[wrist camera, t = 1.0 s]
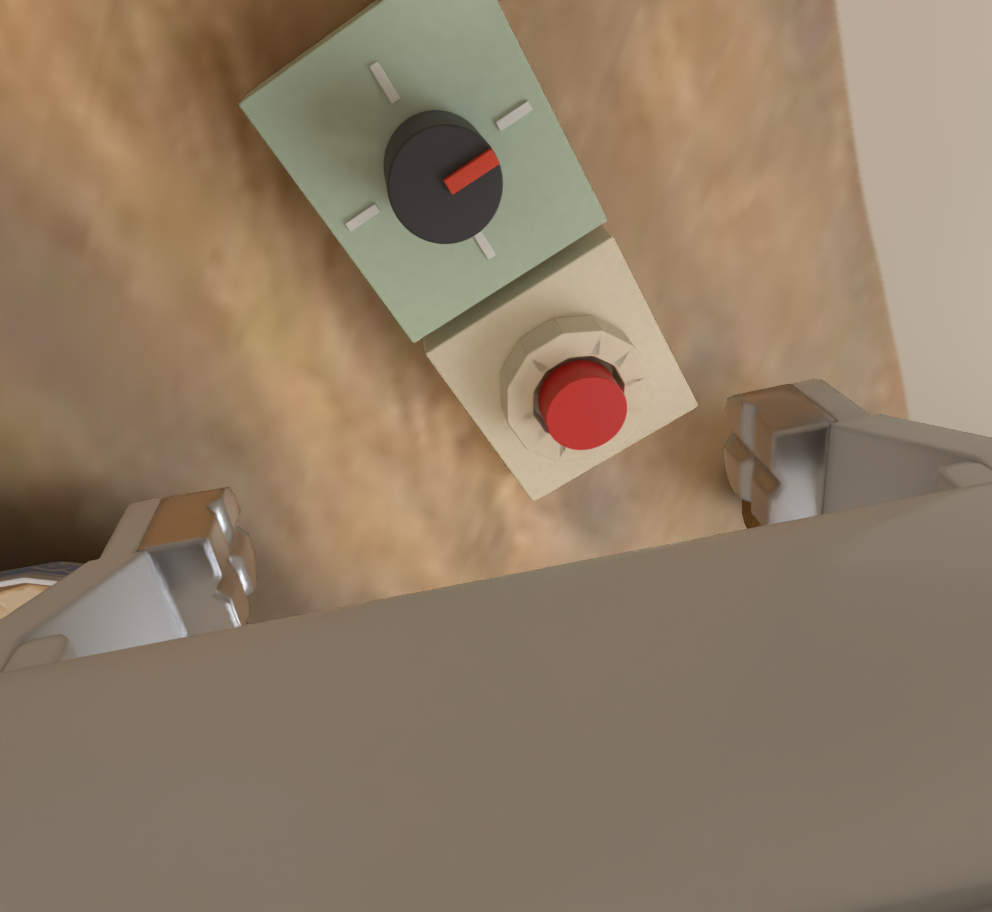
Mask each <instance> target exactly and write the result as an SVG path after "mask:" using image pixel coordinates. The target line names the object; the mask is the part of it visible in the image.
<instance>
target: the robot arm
mask: <svg viewBox="0 0 992 912" xmlns="http://www.w3.org/2000/svg"><path fill="white" fill-rule="evenodd" d="M725 423H726V424H727V425H728V427H729V428H730V429H731V430H732V431H733V434H732V435H731V437H730V438H729V440H728V441H727V442H726V444H725V445H724V464H725V469H726V473H727V477H728V481H729V483H730V485H731V487H732V489H733V491H734V492H735V493H736V494H737V496H738V497H739V498H740V499H743V500H746V501H749V502H751V513H752V514H753V516H754V517H755V518H756V519H757V520H758V522H759V523H760V524H761V525H762V526H760V527H755V528H750V529H744V530H739V531H734V532H729V533H724V534H718V535H713V536H708V537H703V538H698V539H692V540H687V541H682V542H677V543H672V544H666V545H661V546H656V547H651V548H646V549H640V550H635V551H630V552H625V553H620V554H614V555H609V556H604V557H599V558H593V559H588V560H583V561H578V562H573V563H567V564H562V565H557V566H552V567H547V568H541V569H536V570H531V571H526V572H521V573H515V574H510V575H505V576H500V577H495V578H489V579H484V580H479V581H474V582H468V583H463V584H458V585H453V586H448V587H442V588H437V589H432V590H427V591H422V592H416V593H411V594H406V595H401V596H396V597H390V598H385V599H380V600H375V601H369V602H364V603H359V604H354V605H349V606H343V607H338V608H333V609H328V610H323V611H317V612H312V613H307V614H302V615H297V616H291V617H286V618H281V619H276V620H270V621H265V622H260V623H255V624H250V625H247V621H248V617H249V612H250V606H249V603H248V600H247V597H248V596H249V595H250V594H251V593H252V592H253V591H254V590H255V584H256V579H257V575H256V559H255V555H254V550H253V546H252V543H251V540H250V537H249V534H248V533H246V532H245V531H244V530H242V529H241V528H239V527H238V526H237V522H238V518H239V515H240V508H239V505H238V503H237V500H236V497H235V495H234V493H233V492H232V490H231V489H230V488H229V487H225V488H219V489H212V490H206V491H200V492H194V493H188V494H182V495H176V496H170V497H165V498H164V497H159V498H155V499H150V500H146V501H141V502H136V503H132V504H129V505H128V507H127V509H126V510H125V512H124V514H123V516H122V518H121V520H120V521H119V523H118V525H117V527H116V529H115V531H114V532H113V534H112V536H111V538H110V540H109V542H108V544H107V545H106V547H105V549H104V551H103V553H102V555H101V556H100V558H99V559H96V560H91V561H88V562H87V563H85V564H84V565H82V566H81V567H79V568H78V569H76V570H74V571H73V572H71V573H70V574H68V575H67V576H65V577H64V578H62V579H61V580H59V581H58V582H56V583H55V584H53V585H52V586H50V587H49V588H47V589H46V590H44V591H43V592H41V593H40V594H38V595H37V596H35V597H34V598H32V599H31V600H29V601H28V602H26V603H25V604H23V605H22V606H20V607H19V608H17V609H16V610H14V611H12V612H11V613H9V614H8V615H6V616H5V617H3V618H2V619H0V912H992V438H991V437H986V436H981V435H977V434H972V433H967V432H962V431H957V430H953V429H948V428H943V427H939V426H934V425H929V424H924V423H920V422H915V421H910V420H905V419H901V418H896V417H891V416H887V415H882V414H880V415H874V416H871V415H870V414H868V413H867V412H866V411H864V410H863V409H862V408H860V407H859V406H858V405H856V404H855V403H853V402H852V401H851V400H849V399H848V398H847V397H845V396H844V395H842V394H841V393H840V392H838V391H837V390H836V389H834V388H833V387H831V386H830V385H829V384H827V383H826V382H825V381H823V380H822V379H811V380H807V381H803V382H798V383H794V384H786V385H781V386H776V387H771V388H766V389H761V390H757V391H752V392H747V393H742V394H737V395H733V396H731V397H729V398H727V402H726V406H725Z"/></svg>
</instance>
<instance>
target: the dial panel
mask: <svg viewBox="0 0 992 912" xmlns="http://www.w3.org/2000/svg"><path fill="white" fill-rule="evenodd" d="M239 107H240V108H241V109H242V111H243V112H244V113H245V115H246V116H247V117H248V119H249V120H250V122H251V123H252V124H253V126H254V127H255V128H256V130H257V131H258V133H259V134H260V135H261V137H262V138H263V139H264V141H265V142H266V143H267V145H268V146H269V148H270V149H271V150H272V152H273V153H274V154H275V156H276V157H277V158H278V160H279V161H280V163H281V164H282V165H283V167H284V168H285V169H286V171H287V172H288V173H289V175H290V176H291V178H292V179H293V180H294V182H295V183H296V184H297V186H298V187H299V188H300V190H301V191H302V193H303V194H304V195H305V197H306V198H307V199H308V201H309V202H310V203H311V205H312V206H313V208H314V209H315V210H316V212H317V213H318V214H319V216H320V217H321V218H322V220H323V221H324V223H325V224H326V225H327V227H328V228H329V229H330V231H331V232H332V233H333V235H334V236H335V238H336V239H337V240H338V242H339V243H340V244H341V246H342V247H343V248H344V250H345V251H346V253H347V254H348V255H349V257H350V258H351V259H352V261H353V262H354V264H355V265H356V266H357V268H358V269H359V270H360V272H361V273H362V274H363V276H364V277H365V279H366V280H367V281H368V283H369V284H370V285H371V287H372V288H373V289H374V291H375V292H376V294H377V295H378V296H379V298H380V299H381V300H382V302H383V303H384V304H385V306H386V307H387V309H388V310H389V311H390V313H391V314H392V315H393V317H394V318H395V319H396V321H397V322H398V324H399V325H400V326H401V328H402V329H403V330H404V332H405V333H406V334H407V336H408V337H409V339H410V340H411V341H412V343H415V342H417V341H418V340H420V339H421V338H423V337H425V336H426V335H428V334H429V333H431V332H432V331H434V330H436V329H437V328H439V327H440V326H442V325H443V324H445V323H447V322H448V321H450V320H451V319H453V318H455V317H456V316H458V315H459V314H461V313H462V312H464V311H466V310H467V309H469V308H470V307H472V306H473V305H475V304H477V303H478V302H480V301H481V300H483V299H485V298H486V297H488V296H489V295H491V294H492V293H494V292H496V291H497V290H499V289H500V288H502V287H503V286H505V285H507V284H508V283H510V282H511V281H513V280H515V279H516V278H518V277H519V276H521V275H522V274H524V273H526V272H527V271H529V270H530V269H532V268H533V267H535V266H537V265H538V264H540V263H541V262H543V261H545V260H546V259H548V258H549V257H551V256H552V255H554V254H556V253H557V252H559V251H560V250H562V249H563V248H565V247H567V246H568V245H570V244H571V243H573V242H575V241H576V240H578V239H579V238H581V237H582V236H584V235H586V234H587V233H589V232H590V231H592V230H593V229H595V228H597V227H598V226H600V225H601V224H603V223H605V222H606V221H607V218H606V216H605V214H604V212H603V210H602V208H601V206H600V204H599V202H598V200H597V198H596V196H595V194H594V192H593V190H592V188H591V186H590V184H589V182H588V180H587V178H586V176H585V174H584V172H583V170H582V168H581V166H580V164H579V162H578V160H577V158H576V156H575V154H574V152H573V150H572V148H571V146H570V144H569V142H568V140H567V138H566V136H565V134H564V132H563V130H562V128H561V126H560V124H559V122H558V120H557V118H556V116H555V114H554V112H553V110H552V108H551V106H550V104H549V102H548V100H547V98H546V96H545V95H544V93H543V91H542V89H541V87H540V85H539V83H538V81H537V79H536V77H535V75H534V73H533V71H532V69H531V67H530V65H529V63H528V61H527V59H526V57H525V55H524V53H523V51H522V49H521V47H520V45H519V43H518V41H517V39H516V37H515V35H514V33H513V31H512V29H511V27H510V25H509V23H508V21H507V19H506V17H505V15H504V13H503V11H502V9H501V7H500V5H499V3H498V1H497V0H376V1H374V2H373V3H371V4H370V5H369V6H367V7H366V8H365V9H363V10H362V11H360V12H359V13H358V14H356V15H355V16H353V17H352V18H351V19H349V20H348V21H347V22H345V23H344V24H342V25H341V26H340V27H338V28H337V29H335V30H334V31H333V32H331V33H330V34H328V35H327V36H326V37H324V38H323V39H322V40H320V41H319V42H317V43H316V44H315V45H313V46H312V47H310V48H309V49H308V50H306V51H305V52H303V53H302V54H301V55H299V56H298V57H297V58H295V59H294V60H292V61H291V62H290V63H288V64H287V65H285V66H284V67H283V68H281V69H280V70H279V71H277V72H276V73H274V74H273V75H272V76H270V77H269V78H267V79H266V80H265V81H263V82H262V83H260V84H259V85H258V86H256V87H255V88H254V89H252V90H251V91H249V92H248V93H247V94H246V96H245V97H244V98H243V99H242V100H241V102H240V103H239ZM431 110H442V111H448V112H451V113H454V114H457V115H459V116H461V117H463V118H464V119H466V120H467V121H468V122H470V123H471V124H472V125H473V126H474V127H475V128H476V130H477V131H478V132H479V133H480V134H481V136H482V137H483V138H484V139H485V140H486V141H487V143H488V144H489V145H490V146H491V148H492V149H493V151H494V152H495V154H496V156H497V158H498V160H499V162H500V166H501V170H502V175H503V192H502V198H501V201H500V205H499V207H498V209H497V212H496V214H495V215H494V217H493V219H492V220H491V221H490V222H489V224H488V225H487V226H486V227H485V228H484V229H483V230H482V231H481V232H479V233H478V234H476V235H475V236H473V237H471V238H470V239H467V240H465V241H462V242H458V243H453V244H437V243H432V242H428V241H425V240H423V239H420V238H419V237H417V236H415V235H413V234H412V233H411V232H410V231H408V230H407V229H406V228H405V227H404V226H403V225H402V224H401V222H400V221H399V220H398V218H397V217H396V215H395V213H394V212H393V209H392V207H391V204H390V201H389V197H388V192H387V187H386V182H385V176H384V155H385V150H386V147H387V144H388V142H389V140H390V138H391V136H392V134H393V133H394V132H395V130H396V129H397V128H398V127H399V126H400V125H401V124H402V123H403V122H404V121H405V120H407V119H408V118H410V117H412V116H413V115H416V114H418V113H421V112H425V111H431Z"/></svg>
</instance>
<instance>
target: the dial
mask: <svg viewBox="0 0 992 912" xmlns="http://www.w3.org/2000/svg"><path fill="white" fill-rule="evenodd" d="M384 176H385V182H386V187H387V192H388V197H389V201H390V204H391V207H392V209H393V212H394V213H395V215H396V217H397V218H398V220H399V221H400V222H401V224H402V225H403V226H404V227H405V228H406V229H407V230H408V231H410V232H411V233H412V234H413V235H415V236H417V237H419V238H420V239H423V240H425V241H428V242H432V243H437V244H453V243H458V242H462V241H465V240H467V239H470V238H471V237H473V236H475V235H476V234H478V233H479V232H481V231H482V230H483V229H484V228H485V227H486V226H487V225H488V224H489V222H490V221H491V220H492V219H493V217H494V215H495V214H496V212H497V209H498V207H499V205H500V201H501V198H502V192H503V175H502V170H501V166H500V162H499V160H498V158H497V156H496V154H495V152H494V151H493V149H492V148H491V146H490V145H489V144H488V143H487V141H486V140H485V139H484V138H483V137H482V136H481V134H480V133H479V132H478V131H477V130H476V128H475V127H474V126H473V125H472V124H471V123H470V122H468V121H467V120H466V119H464V118H463V117H461V116H459V115H457V114H454V113H451V112H448V111H442V110H431V111H425V112H421V113H418V114H416V115H413V116H412V117H410V118H408V119H407V120H405V121H404V122H403V123H402V124H401V125H400V126H399V127H398V128H397V129H396V130H395V132H394V133H393V134H392V136H391V138H390V140H389V142H388V144H387V147H386V150H385V155H384Z"/></svg>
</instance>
